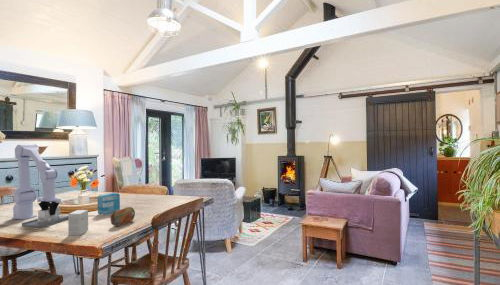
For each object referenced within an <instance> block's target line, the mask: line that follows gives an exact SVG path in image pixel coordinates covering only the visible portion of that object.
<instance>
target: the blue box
mask: <svg viewBox="0 0 500 285" xmlns="http://www.w3.org/2000/svg"><path fill="white" fill-rule="evenodd" d="M120 199H121V195H120V194H119V193H118V192H117V193H116V192H110V193H105V194H100V195H98V196H97V214H98V215H102V216H106V215H112V213H113V212H114V211H116V210H120V209H121V204H120V203H121V200H120Z"/></svg>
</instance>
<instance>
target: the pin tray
mask: <svg viewBox="0 0 500 285" xmlns="http://www.w3.org/2000/svg"><path fill="white" fill-rule="evenodd" d="M65 221H68V215H65V214H64V215H63V214H62V215H61V214H60V215H58V216H57V217H54V218H48V219H47V220H40V219H38V218H36V219H31V220H28V221H24V222H22V223H21V227H24V228H25V227H26V228H36V229H42V228H45V227H46V228H47V227H49V226H53V225H56V224H58V223H61V222H65Z"/></svg>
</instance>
